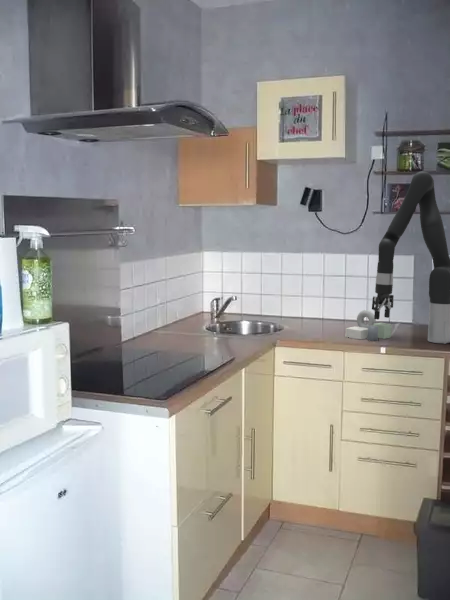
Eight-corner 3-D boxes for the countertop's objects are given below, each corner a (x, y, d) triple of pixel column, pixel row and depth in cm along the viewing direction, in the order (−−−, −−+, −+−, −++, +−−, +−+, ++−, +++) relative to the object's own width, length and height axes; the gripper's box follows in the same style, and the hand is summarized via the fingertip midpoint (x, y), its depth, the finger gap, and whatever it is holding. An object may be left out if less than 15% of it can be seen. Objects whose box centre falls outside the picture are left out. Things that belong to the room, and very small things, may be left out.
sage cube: (391, 337, 297) (391, 324, 296) (384, 338, 293) (384, 325, 292) (379, 335, 301) (380, 322, 300) (372, 337, 297) (373, 324, 296)
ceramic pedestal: (370, 337, 295) (370, 328, 295) (360, 339, 290) (360, 330, 289) (355, 334, 301) (355, 326, 300) (345, 337, 295) (345, 328, 295)
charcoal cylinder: (379, 340, 289) (380, 326, 289) (374, 341, 286) (374, 327, 285) (370, 338, 293) (371, 325, 292) (365, 339, 289) (365, 326, 289)
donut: (376, 331, 311) (377, 310, 309) (372, 332, 308) (373, 311, 307) (358, 328, 318) (359, 308, 316) (354, 329, 315) (355, 309, 314)
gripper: (383, 284, 286) (380, 321, 289) (399, 282, 296) (397, 318, 299) (368, 283, 292) (366, 318, 294) (385, 281, 302) (382, 315, 304)
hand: (381, 318), depth 296 cm, fingers open, 8 cm apart
